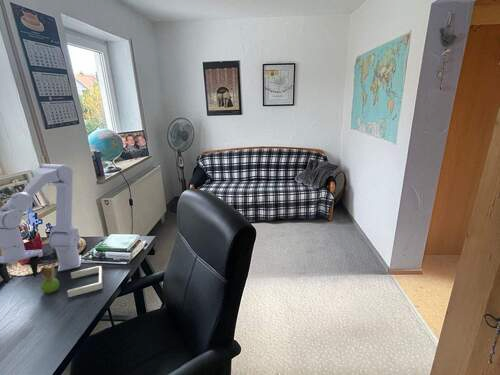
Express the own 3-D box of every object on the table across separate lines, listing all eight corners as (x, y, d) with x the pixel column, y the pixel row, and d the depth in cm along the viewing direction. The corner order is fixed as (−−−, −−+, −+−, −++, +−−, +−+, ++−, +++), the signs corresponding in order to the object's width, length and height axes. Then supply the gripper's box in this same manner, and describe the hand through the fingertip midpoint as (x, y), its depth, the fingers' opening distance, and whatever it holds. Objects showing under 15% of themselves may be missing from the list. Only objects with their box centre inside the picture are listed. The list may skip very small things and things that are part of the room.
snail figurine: (53, 297, 97) (46, 269, 93) (39, 295, 98) (31, 267, 94) (66, 287, 102) (59, 260, 98) (52, 285, 103) (45, 258, 99)
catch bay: (72, 277, 108) (70, 272, 107) (102, 270, 112) (101, 265, 112) (68, 297, 97) (67, 291, 96) (102, 288, 102) (101, 282, 101)
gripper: (-22, 255, 83) (-9, 291, 87) (36, 244, 90) (45, 278, 94) (-14, 244, 89) (-2, 279, 93) (40, 235, 95) (48, 268, 100)
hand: (22, 278), depth 94 cm, fingers open, 7 cm apart
